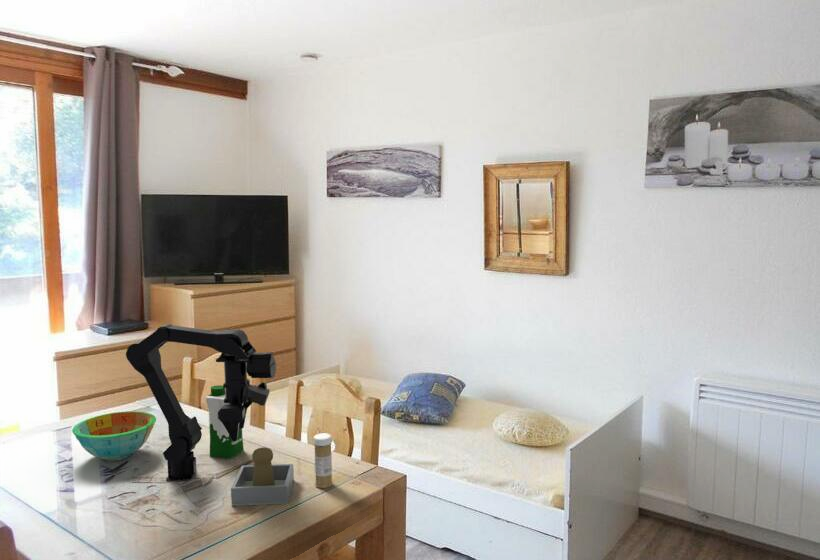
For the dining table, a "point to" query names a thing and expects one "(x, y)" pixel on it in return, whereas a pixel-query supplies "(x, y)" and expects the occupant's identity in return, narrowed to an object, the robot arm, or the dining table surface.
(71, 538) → the dining table surface
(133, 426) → the bowl
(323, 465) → the sprinkles bottle
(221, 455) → the milk carton
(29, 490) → the dining table surface
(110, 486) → the dining table surface
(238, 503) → the box
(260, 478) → the cork
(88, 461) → the dining table surface
